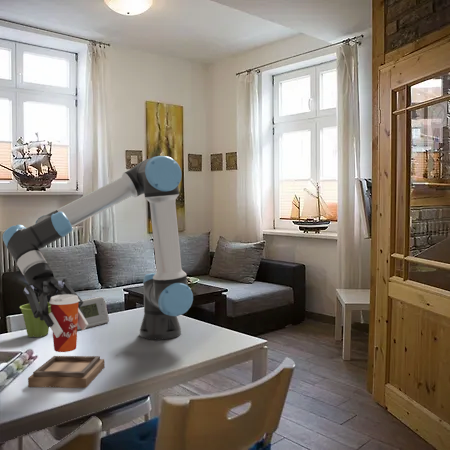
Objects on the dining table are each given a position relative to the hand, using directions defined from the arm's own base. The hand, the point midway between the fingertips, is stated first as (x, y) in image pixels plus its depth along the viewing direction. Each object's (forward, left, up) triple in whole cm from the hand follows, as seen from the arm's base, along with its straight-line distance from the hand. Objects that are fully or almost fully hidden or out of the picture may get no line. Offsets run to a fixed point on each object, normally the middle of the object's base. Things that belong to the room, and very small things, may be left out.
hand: (72, 330), depth 139 cm
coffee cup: (+3, -2, -6) cm, 7 cm away
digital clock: (+15, -58, -14) cm, 61 cm away
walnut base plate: (+2, -2, -14) cm, 14 cm away
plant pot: (+30, -44, -14) cm, 55 cm away
